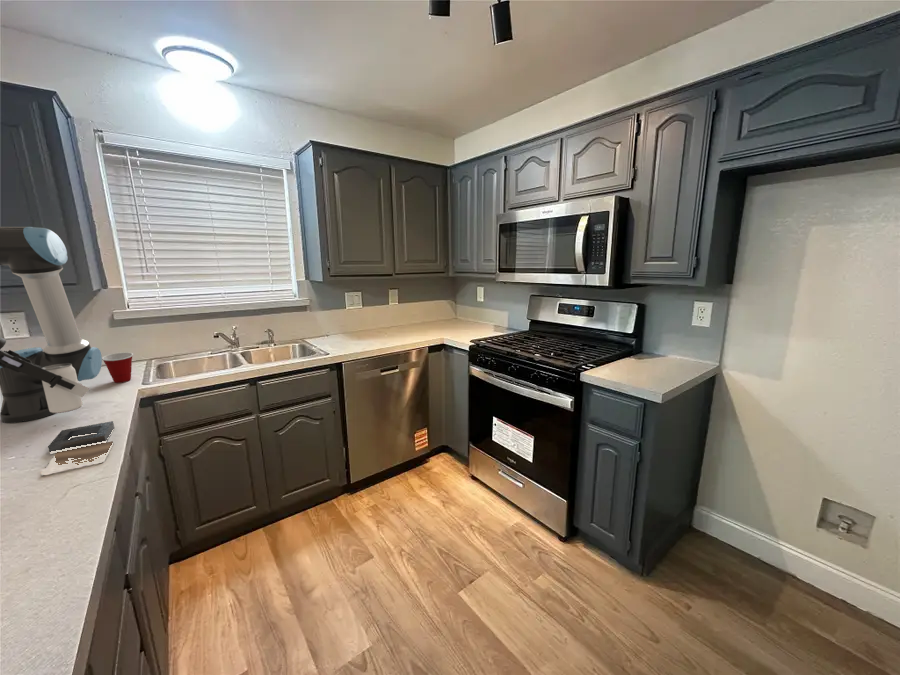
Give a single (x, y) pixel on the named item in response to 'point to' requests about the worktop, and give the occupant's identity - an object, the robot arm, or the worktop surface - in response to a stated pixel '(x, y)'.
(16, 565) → the worktop surface
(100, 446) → the walnut pad
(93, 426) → the steel collar
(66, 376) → the can
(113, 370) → the plastic cup
